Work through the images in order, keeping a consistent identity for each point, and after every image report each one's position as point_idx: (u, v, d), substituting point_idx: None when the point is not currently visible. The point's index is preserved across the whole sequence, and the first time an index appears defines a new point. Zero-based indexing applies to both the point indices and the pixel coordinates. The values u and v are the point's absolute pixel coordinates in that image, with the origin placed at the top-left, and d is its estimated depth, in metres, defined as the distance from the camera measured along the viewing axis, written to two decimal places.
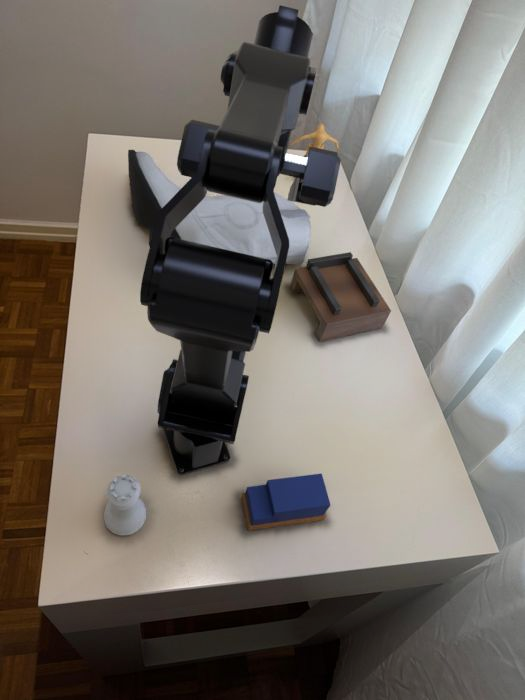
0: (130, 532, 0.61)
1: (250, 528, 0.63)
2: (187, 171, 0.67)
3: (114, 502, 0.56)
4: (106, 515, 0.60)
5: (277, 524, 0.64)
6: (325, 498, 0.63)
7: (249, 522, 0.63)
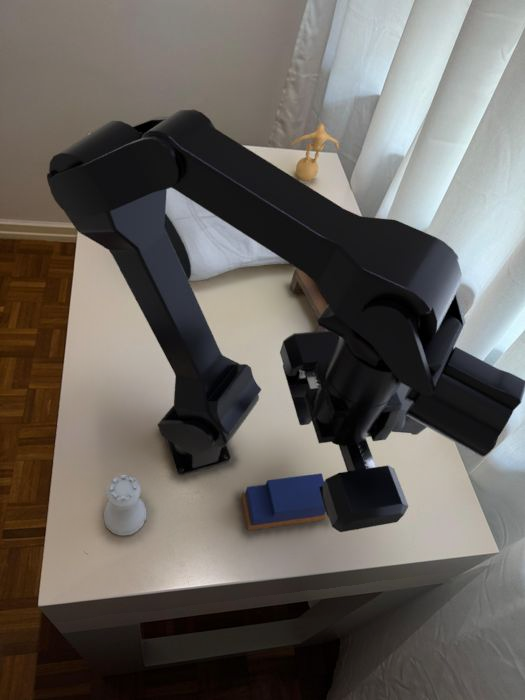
0: (130, 532, 0.61)
1: (250, 528, 0.63)
2: (284, 350, 0.54)
3: (114, 502, 0.56)
4: (106, 515, 0.60)
5: (277, 524, 0.64)
6: None
7: (249, 522, 0.63)
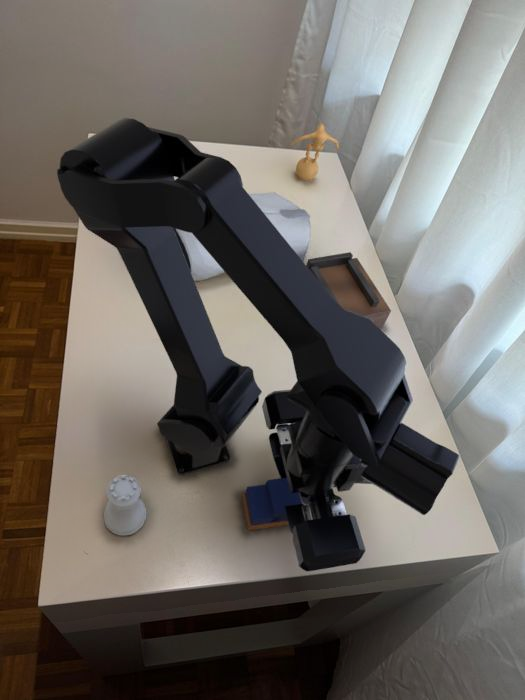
0: (130, 532, 0.61)
1: (250, 528, 0.63)
2: (265, 406, 0.62)
3: (114, 502, 0.56)
4: (106, 515, 0.60)
5: (277, 524, 0.64)
6: None
7: (249, 522, 0.63)
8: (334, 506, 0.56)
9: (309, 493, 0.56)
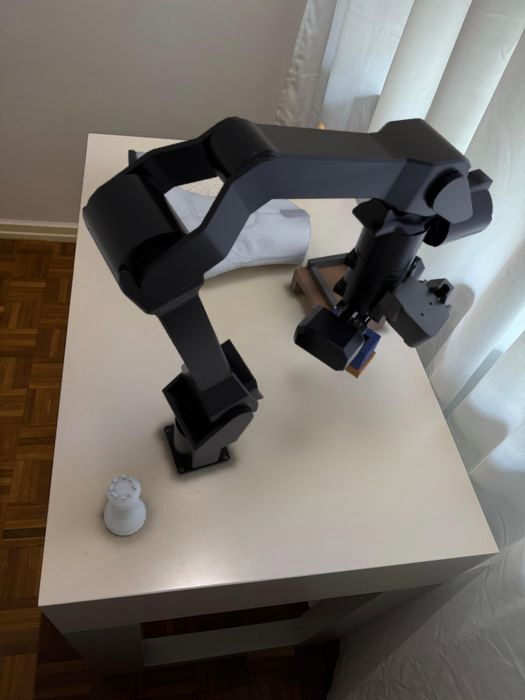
0: (130, 532, 0.61)
1: None
2: None
3: (114, 502, 0.56)
4: (106, 515, 0.60)
5: None
6: (366, 349, 0.65)
7: None
8: (356, 325, 0.59)
9: (345, 301, 0.60)
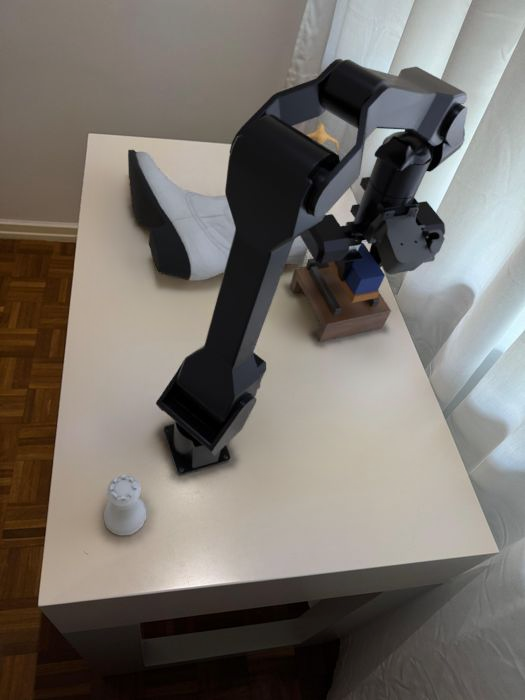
0: (130, 532, 0.61)
1: None
2: None
3: (114, 502, 0.56)
4: (106, 515, 0.60)
5: (335, 269, 0.80)
6: (364, 276, 0.75)
7: None
8: (352, 240, 0.70)
9: (354, 221, 0.72)
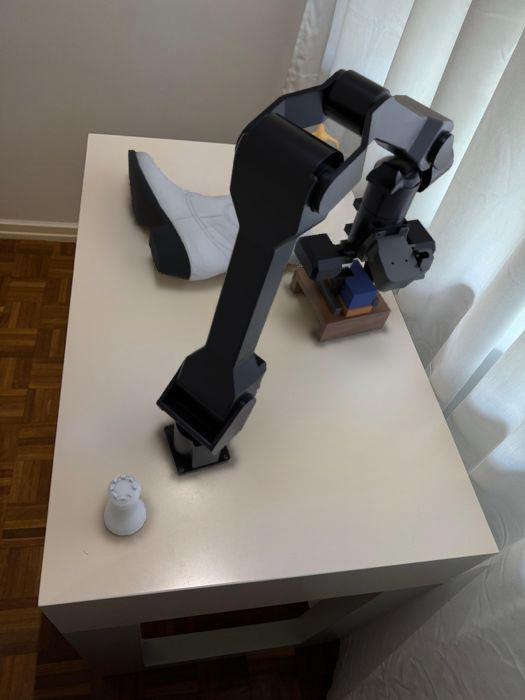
0: (130, 532, 0.61)
1: None
2: None
3: (114, 502, 0.56)
4: (106, 515, 0.60)
5: (329, 284, 0.82)
6: (358, 292, 0.77)
7: None
8: (344, 258, 0.73)
9: (348, 239, 0.74)
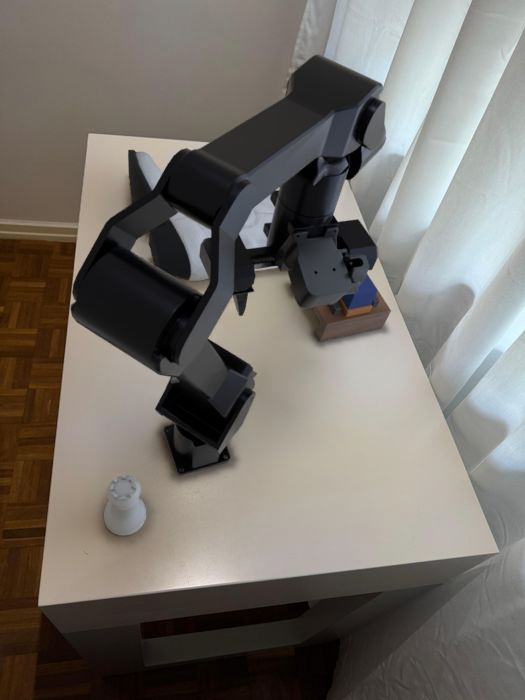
0: (130, 532, 0.61)
1: None
2: None
3: (114, 502, 0.56)
4: (106, 515, 0.60)
5: None
6: (358, 292, 0.77)
7: None
8: None
9: None
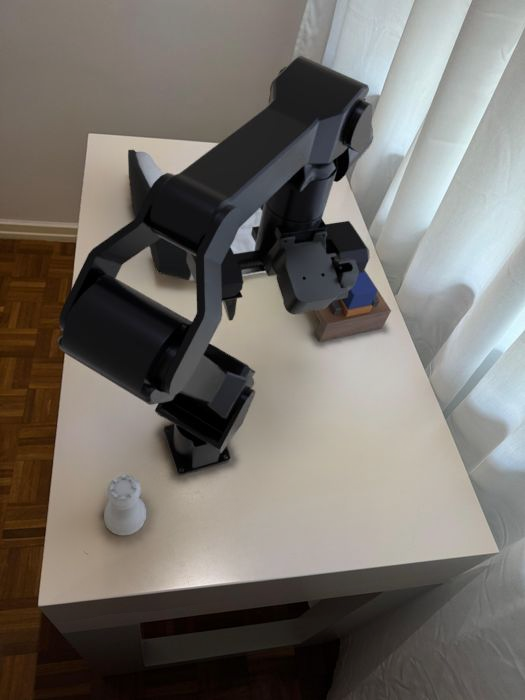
0: (130, 532, 0.61)
1: None
2: None
3: (114, 502, 0.56)
4: (106, 515, 0.60)
5: None
6: (358, 292, 0.77)
7: None
8: None
9: (255, 247, 0.58)
